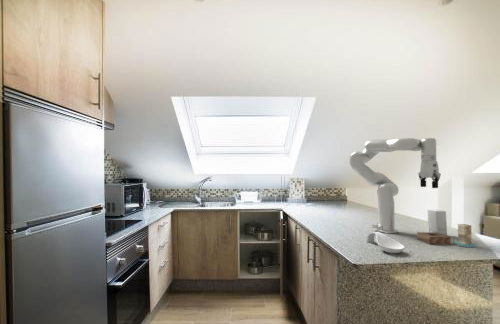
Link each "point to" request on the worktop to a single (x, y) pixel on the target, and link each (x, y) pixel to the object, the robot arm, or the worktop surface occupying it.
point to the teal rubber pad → (464, 244)
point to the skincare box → (437, 221)
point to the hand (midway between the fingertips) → (429, 187)
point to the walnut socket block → (433, 238)
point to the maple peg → (464, 234)
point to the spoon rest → (385, 242)
